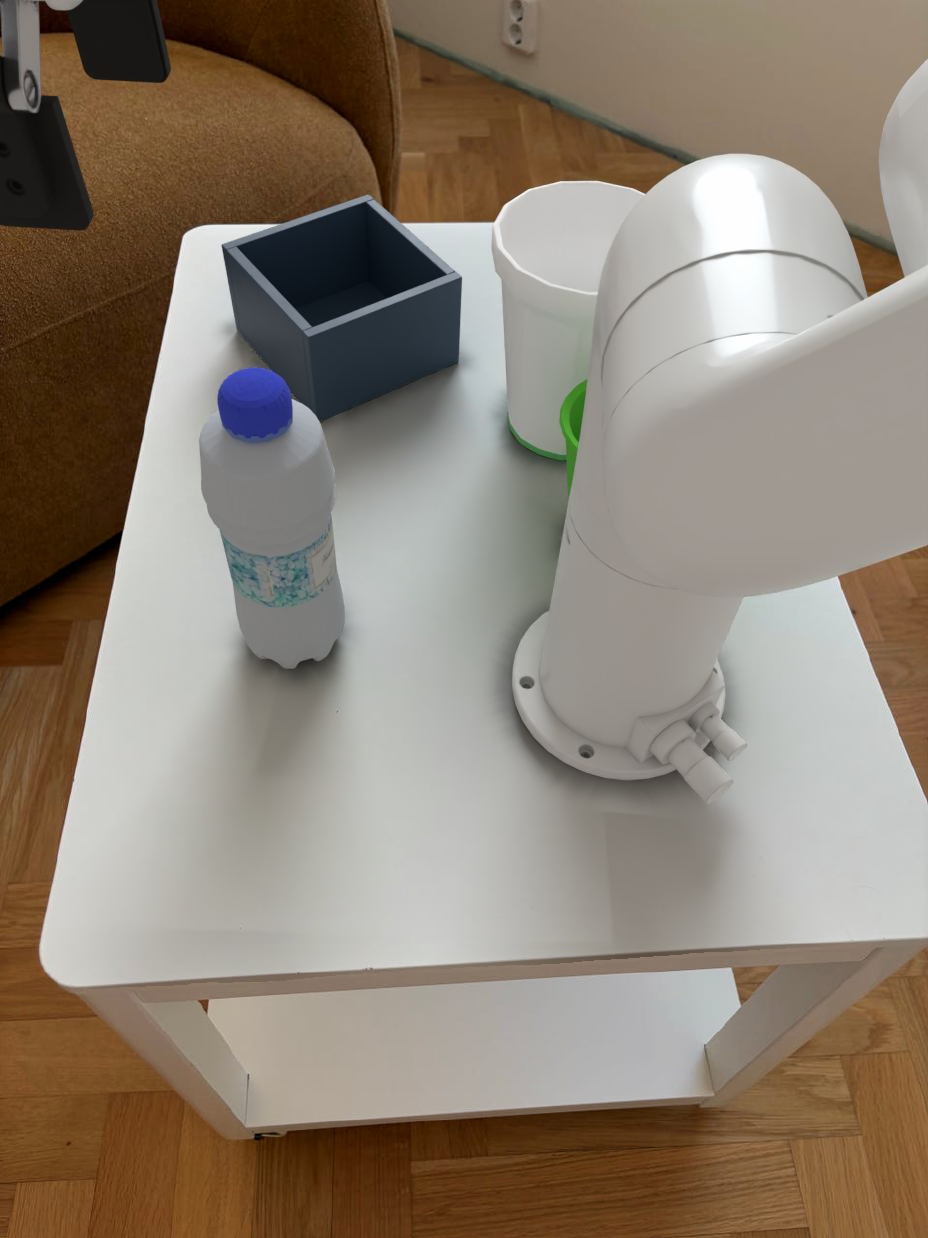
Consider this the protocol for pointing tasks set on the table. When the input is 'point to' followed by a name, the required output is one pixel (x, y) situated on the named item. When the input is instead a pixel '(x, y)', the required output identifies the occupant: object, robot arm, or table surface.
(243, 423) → the bottle
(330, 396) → the bin
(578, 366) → the cup
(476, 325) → the table surface
